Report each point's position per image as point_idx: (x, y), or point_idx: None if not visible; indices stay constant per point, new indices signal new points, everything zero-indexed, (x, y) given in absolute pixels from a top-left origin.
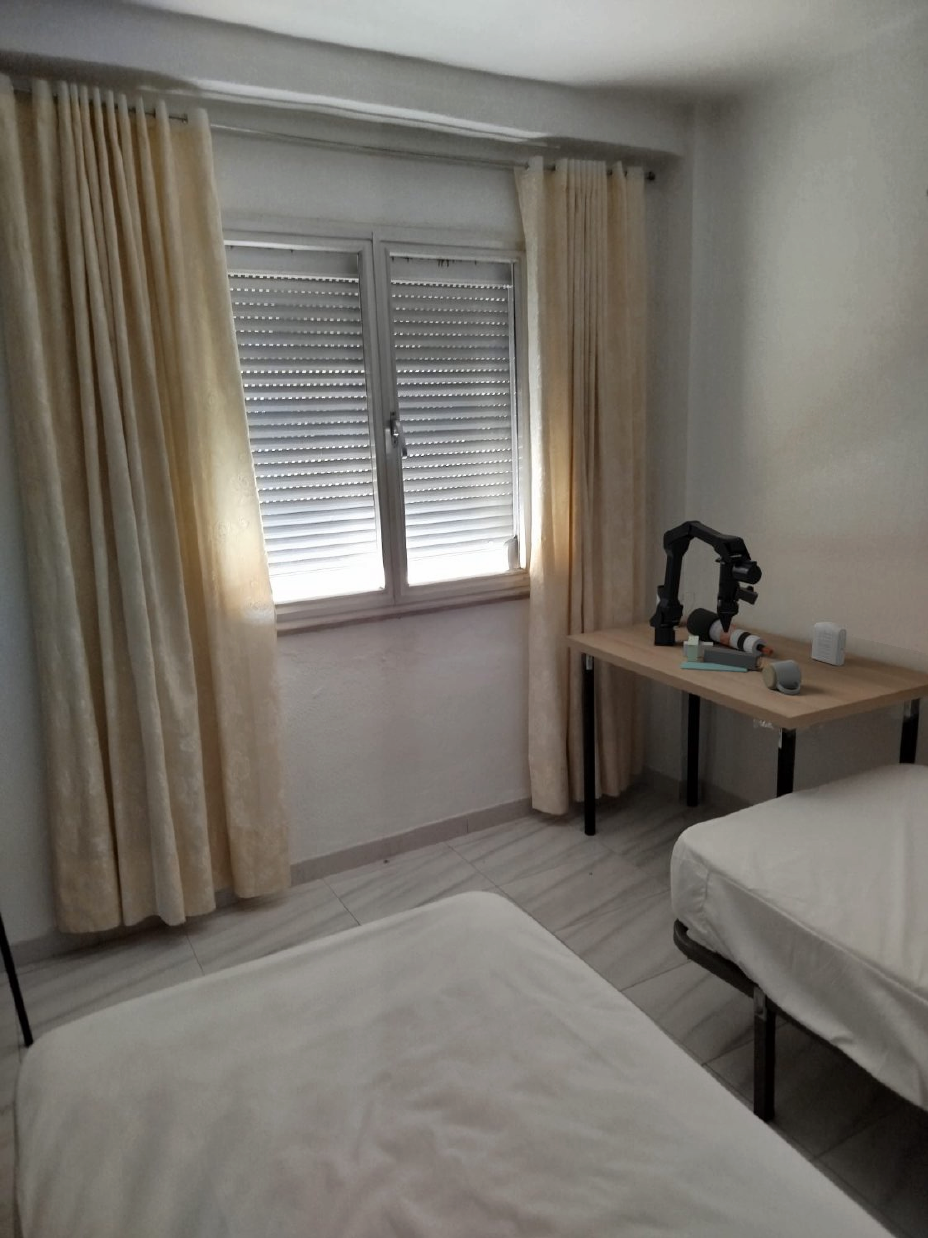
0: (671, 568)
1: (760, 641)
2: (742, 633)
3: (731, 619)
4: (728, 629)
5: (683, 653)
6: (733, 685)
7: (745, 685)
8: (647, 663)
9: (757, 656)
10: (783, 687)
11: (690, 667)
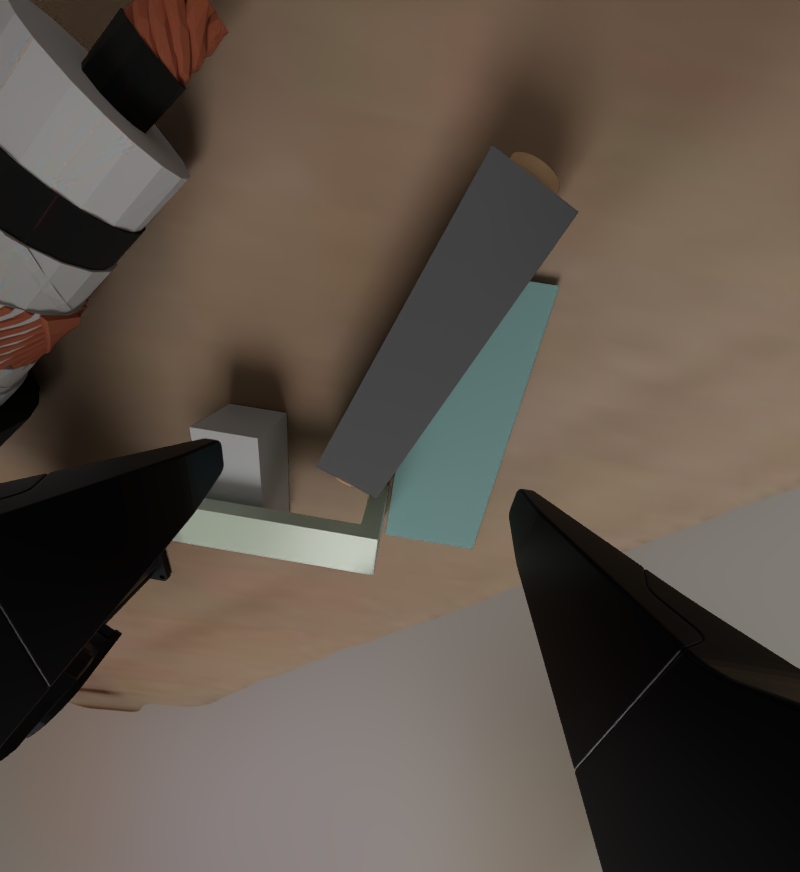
0: None
1: (61, 54)
2: None
3: (740, 635)
4: (560, 512)
5: None
6: (768, 397)
7: (794, 339)
8: (402, 616)
9: (544, 187)
10: None
11: (472, 521)
